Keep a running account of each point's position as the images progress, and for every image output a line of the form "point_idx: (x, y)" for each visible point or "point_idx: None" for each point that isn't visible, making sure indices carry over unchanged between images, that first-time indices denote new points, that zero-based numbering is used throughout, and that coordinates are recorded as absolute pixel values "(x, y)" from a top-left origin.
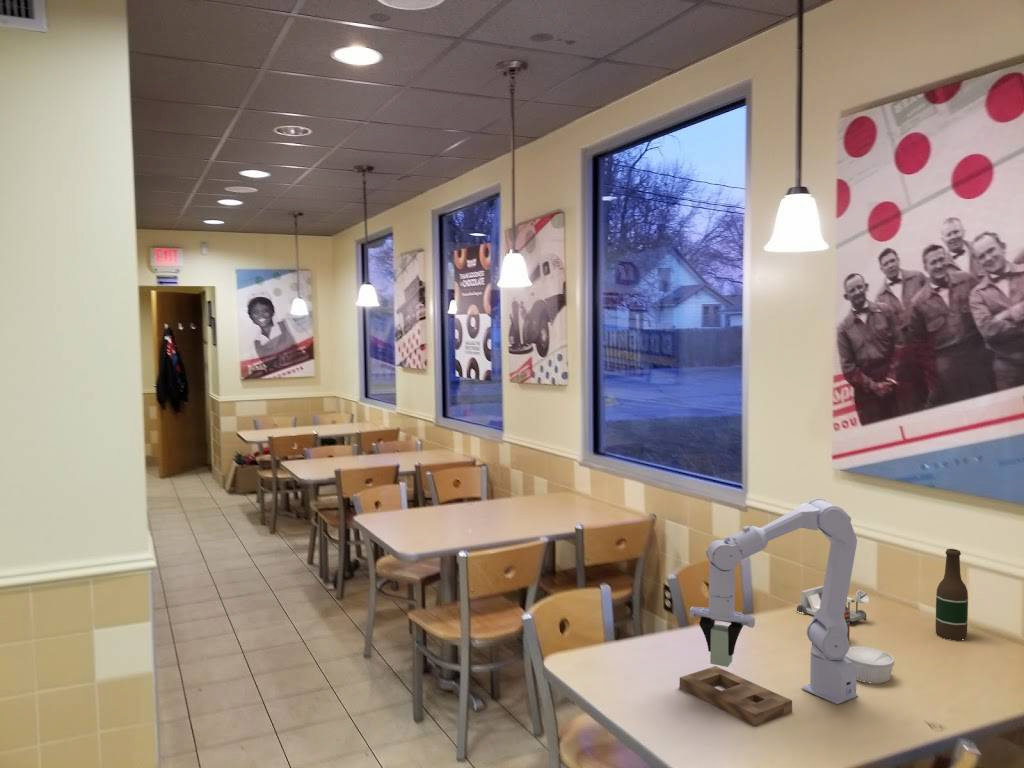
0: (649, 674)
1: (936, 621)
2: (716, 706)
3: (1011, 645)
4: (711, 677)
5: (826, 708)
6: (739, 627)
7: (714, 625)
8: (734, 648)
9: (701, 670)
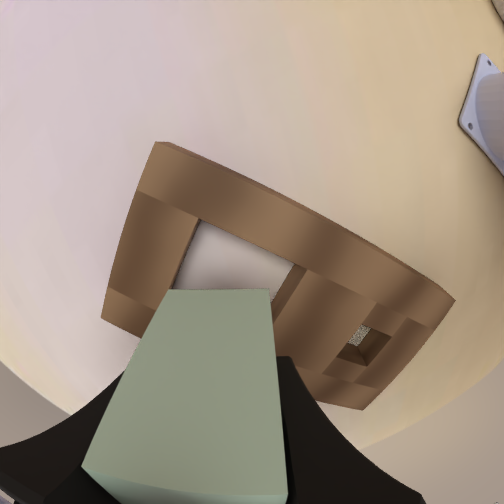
0: (25, 253)
1: None
2: None
3: None
4: (180, 259)
5: (499, 221)
6: None
7: (105, 488)
8: (298, 373)
9: (125, 224)
